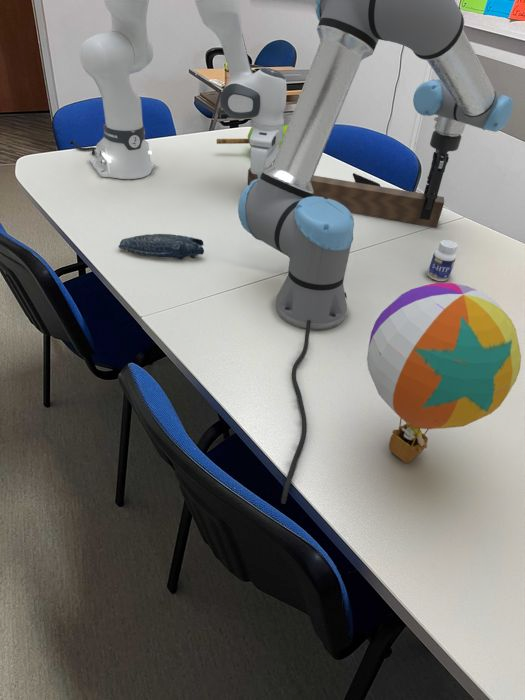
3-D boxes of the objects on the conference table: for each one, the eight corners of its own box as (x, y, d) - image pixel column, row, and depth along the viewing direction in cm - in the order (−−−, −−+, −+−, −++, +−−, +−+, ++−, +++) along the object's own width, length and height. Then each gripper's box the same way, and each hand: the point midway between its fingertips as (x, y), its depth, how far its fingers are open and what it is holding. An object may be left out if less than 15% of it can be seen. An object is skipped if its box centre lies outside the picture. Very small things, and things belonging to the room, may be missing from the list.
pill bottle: (425, 278, 127) (436, 245, 122) (428, 268, 131) (438, 236, 126) (447, 283, 126) (459, 250, 120) (449, 273, 130) (460, 241, 124)
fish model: (201, 265, 124) (201, 246, 121) (115, 255, 125) (113, 236, 122) (206, 252, 129) (206, 234, 126) (124, 243, 130) (122, 224, 127)
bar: (436, 221, 155) (444, 196, 150) (436, 227, 151) (444, 202, 147) (250, 189, 164) (252, 165, 159) (246, 194, 160) (248, 170, 156)
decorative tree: (213, 119, 187) (294, 118, 192) (214, 148, 193) (292, 147, 198) (219, 133, 173) (306, 132, 178) (220, 165, 179) (303, 163, 185)
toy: (317, 443, 83) (351, 282, 64) (393, 393, 94) (441, 242, 75) (417, 530, 72) (494, 366, 53) (490, 462, 83) (575, 305, 64)
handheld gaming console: (396, 188, 169) (390, 167, 160) (387, 206, 167) (380, 186, 159) (365, 182, 175) (357, 162, 166) (355, 200, 174) (347, 180, 165)
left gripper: (266, 121, 158) (262, 166, 167) (247, 140, 143) (244, 189, 151) (286, 124, 157) (281, 170, 166) (269, 144, 142) (265, 192, 150)
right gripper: (433, 120, 147) (413, 197, 161) (433, 141, 130) (410, 225, 145) (460, 124, 145) (437, 201, 160) (464, 146, 129) (438, 229, 143)
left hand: (263, 179), depth 158 cm, fingers open, 5 cm apart
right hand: (424, 212), depth 152 cm, fingers open, 8 cm apart
